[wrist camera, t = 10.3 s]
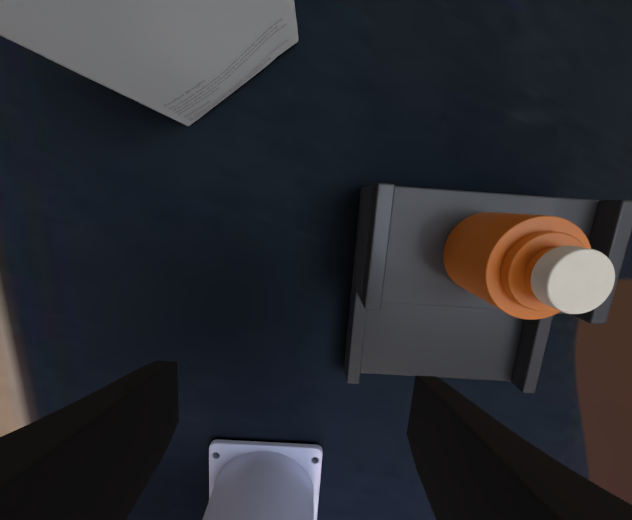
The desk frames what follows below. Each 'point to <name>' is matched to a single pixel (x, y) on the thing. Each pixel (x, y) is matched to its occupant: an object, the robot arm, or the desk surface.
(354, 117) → the desk surface
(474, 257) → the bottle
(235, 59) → the cosmetic box
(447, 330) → the rack
